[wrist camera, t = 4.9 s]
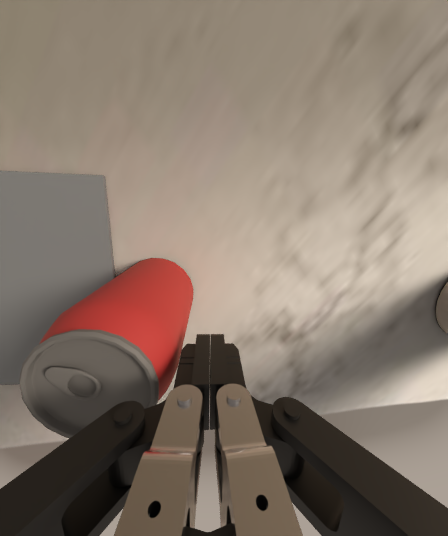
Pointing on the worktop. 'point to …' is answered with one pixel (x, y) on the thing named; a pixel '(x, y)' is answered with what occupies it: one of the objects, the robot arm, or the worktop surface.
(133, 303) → the beer can
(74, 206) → the slate mat
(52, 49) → the worktop surface
